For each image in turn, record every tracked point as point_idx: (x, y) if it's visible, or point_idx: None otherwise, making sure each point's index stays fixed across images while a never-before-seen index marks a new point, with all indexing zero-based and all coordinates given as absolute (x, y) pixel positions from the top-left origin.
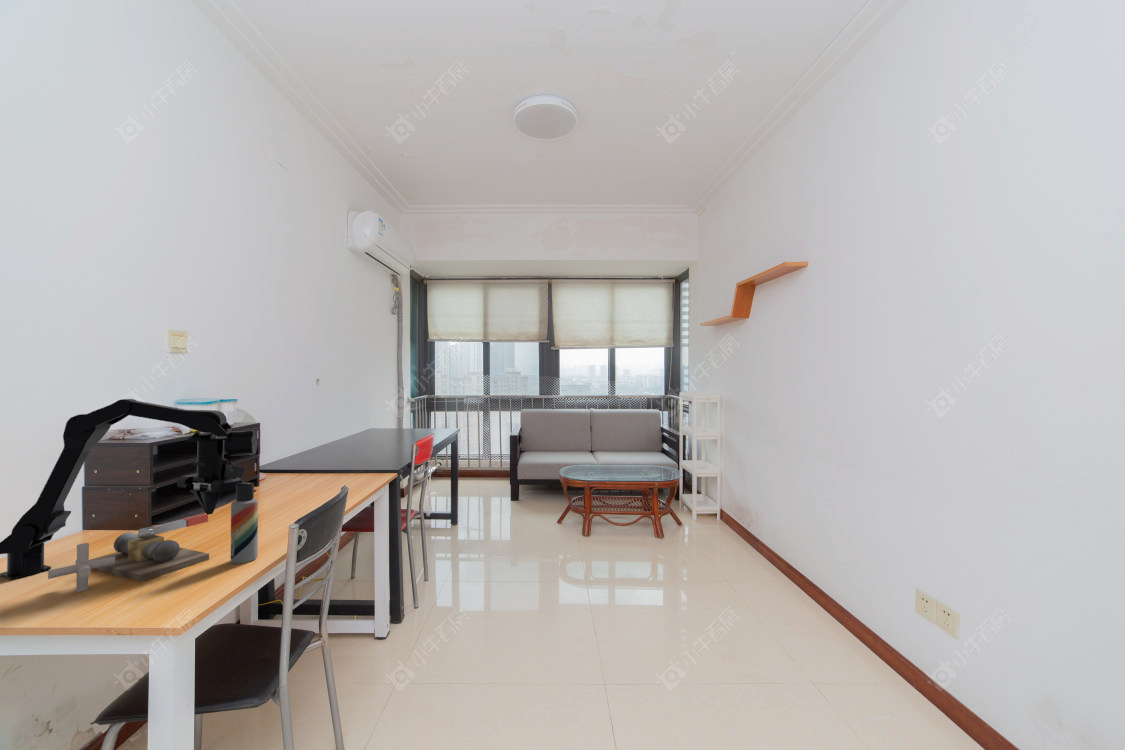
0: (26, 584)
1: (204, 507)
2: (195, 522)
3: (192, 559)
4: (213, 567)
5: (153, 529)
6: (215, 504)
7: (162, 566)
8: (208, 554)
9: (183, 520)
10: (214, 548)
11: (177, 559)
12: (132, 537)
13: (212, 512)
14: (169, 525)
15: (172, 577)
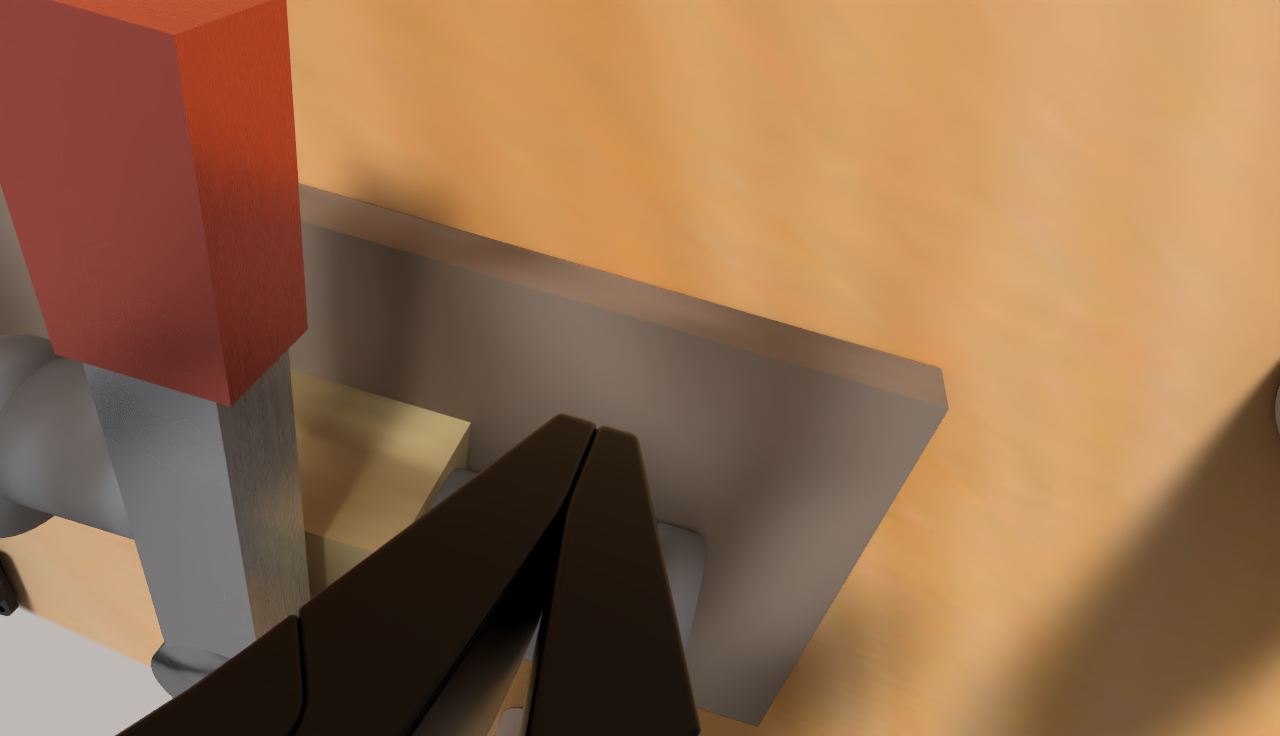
0: (160, 645)
1: (503, 698)
2: (273, 246)
3: (878, 516)
4: (1146, 528)
5: None
6: (677, 660)
7: (754, 630)
8: (946, 410)
9: (205, 429)
10: (700, 38)
11: (737, 525)
12: (35, 489)
13: (636, 463)
14: (256, 559)
15: (918, 651)
